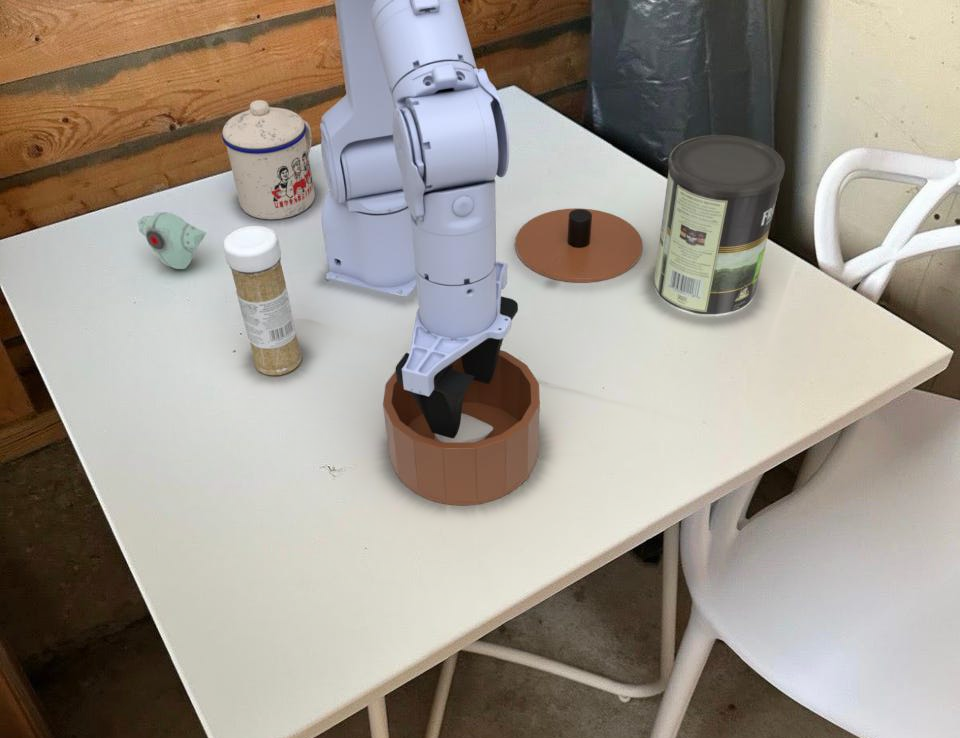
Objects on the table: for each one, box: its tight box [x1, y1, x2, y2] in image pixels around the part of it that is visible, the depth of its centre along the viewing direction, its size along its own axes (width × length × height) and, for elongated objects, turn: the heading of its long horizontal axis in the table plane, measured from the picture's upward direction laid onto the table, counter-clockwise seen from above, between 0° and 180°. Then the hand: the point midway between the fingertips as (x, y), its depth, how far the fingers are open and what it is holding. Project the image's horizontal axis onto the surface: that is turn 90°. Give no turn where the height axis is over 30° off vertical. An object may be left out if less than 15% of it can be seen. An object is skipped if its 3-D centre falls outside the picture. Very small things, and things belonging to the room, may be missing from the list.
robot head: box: [137, 211, 207, 270], centre depth 96 cm, size 8×4×7 cm, turn 65°
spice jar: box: [222, 225, 303, 376], centre depth 82 cm, size 5×5×13 cm
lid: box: [515, 207, 643, 284], centre depth 97 cm, size 13×13×4 cm
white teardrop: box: [435, 413, 493, 443], centre depth 77 cm, size 4×5×2 cm
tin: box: [382, 349, 541, 506], centre depth 76 cm, size 12×12×6 cm
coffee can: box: [653, 134, 786, 317], centre depth 89 cm, size 10×10×14 cm
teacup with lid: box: [221, 99, 316, 220], centre depth 104 cm, size 12×9×12 cm
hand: (462, 405), depth 75 cm, fingers open, 6 cm apart
